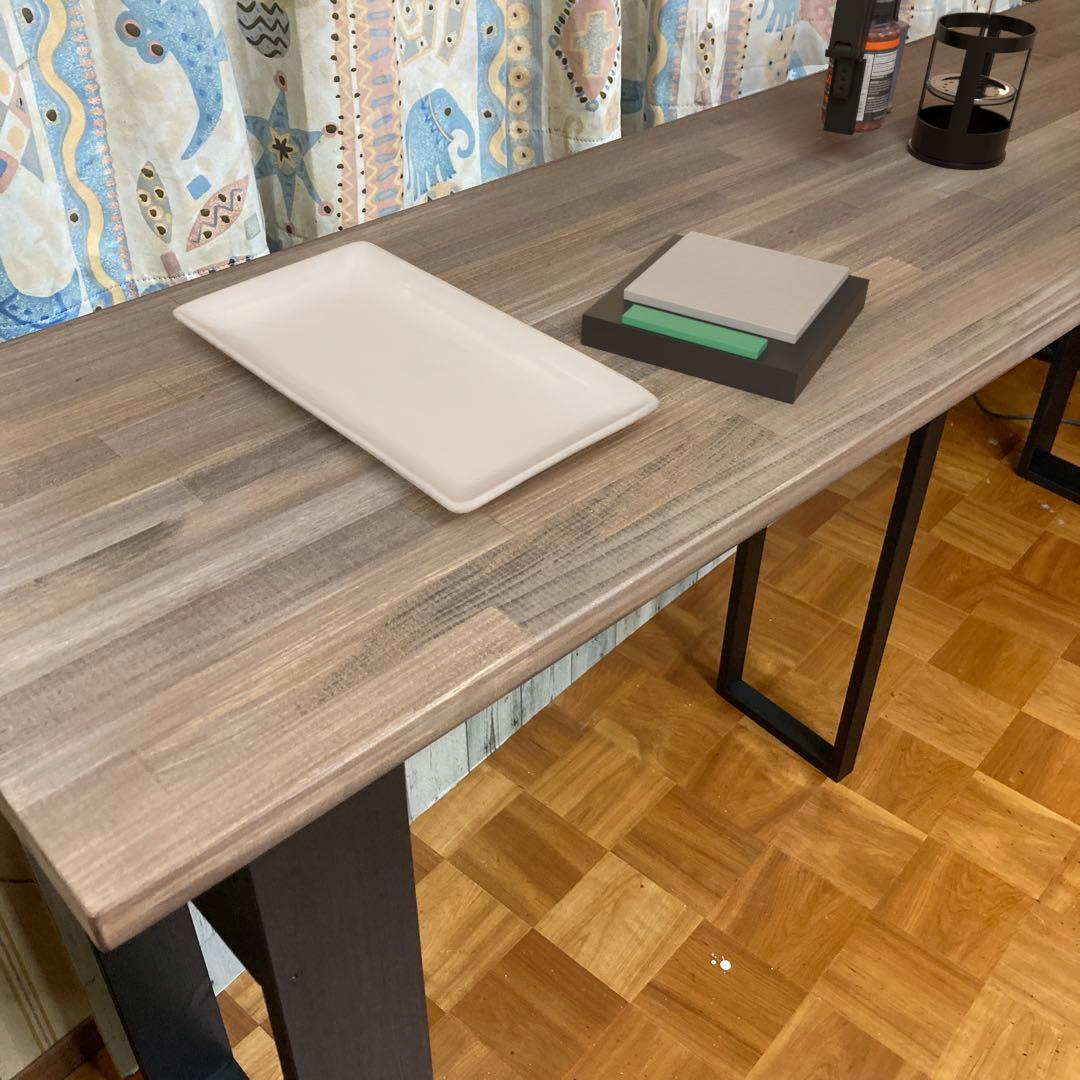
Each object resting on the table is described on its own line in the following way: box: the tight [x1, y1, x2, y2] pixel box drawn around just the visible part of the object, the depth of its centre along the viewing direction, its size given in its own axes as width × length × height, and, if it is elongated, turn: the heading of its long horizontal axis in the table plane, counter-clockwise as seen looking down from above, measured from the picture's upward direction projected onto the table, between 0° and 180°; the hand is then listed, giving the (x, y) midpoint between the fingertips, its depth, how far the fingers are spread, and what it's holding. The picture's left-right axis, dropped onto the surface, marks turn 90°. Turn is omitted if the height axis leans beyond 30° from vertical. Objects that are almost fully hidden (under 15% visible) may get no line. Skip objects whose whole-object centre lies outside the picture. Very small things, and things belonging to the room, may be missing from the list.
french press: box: [906, 0, 1038, 171], centre depth 105 cm, size 12×9×23 cm
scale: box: [580, 230, 870, 405], centre depth 82 cm, size 16×16×3 cm
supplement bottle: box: [820, 0, 901, 134], centre depth 103 cm, size 6×6×11 cm
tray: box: [172, 240, 661, 514], centre depth 74 cm, size 17×31×4 cm, turn 43°
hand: (849, 121), depth 106 cm, fingers closed on supplement bottle, 6 cm apart
